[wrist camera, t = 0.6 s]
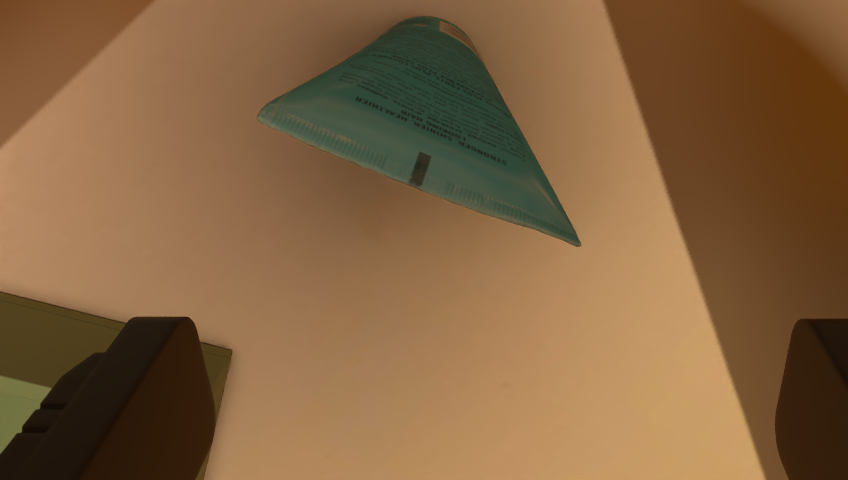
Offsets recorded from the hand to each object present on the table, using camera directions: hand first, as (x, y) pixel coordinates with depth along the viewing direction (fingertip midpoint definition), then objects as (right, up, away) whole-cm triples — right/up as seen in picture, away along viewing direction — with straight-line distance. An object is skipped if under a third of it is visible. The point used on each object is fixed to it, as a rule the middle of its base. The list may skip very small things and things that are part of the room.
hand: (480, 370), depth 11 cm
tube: (-1, +9, +24) cm, 26 cm away
